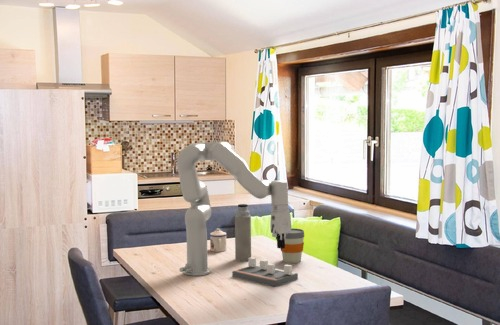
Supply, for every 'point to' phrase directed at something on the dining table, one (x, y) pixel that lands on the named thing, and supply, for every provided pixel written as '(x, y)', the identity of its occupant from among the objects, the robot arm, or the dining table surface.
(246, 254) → the thermos bottle
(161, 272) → the dining table surface
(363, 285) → the dining table surface
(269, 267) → the block
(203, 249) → the robot arm
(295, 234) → the reusable coffee cup
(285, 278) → the grey slider switch panel
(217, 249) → the teacup with lid
